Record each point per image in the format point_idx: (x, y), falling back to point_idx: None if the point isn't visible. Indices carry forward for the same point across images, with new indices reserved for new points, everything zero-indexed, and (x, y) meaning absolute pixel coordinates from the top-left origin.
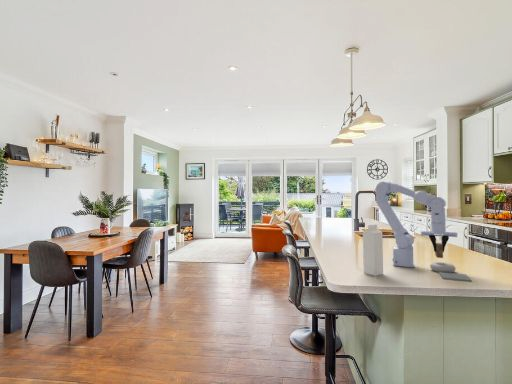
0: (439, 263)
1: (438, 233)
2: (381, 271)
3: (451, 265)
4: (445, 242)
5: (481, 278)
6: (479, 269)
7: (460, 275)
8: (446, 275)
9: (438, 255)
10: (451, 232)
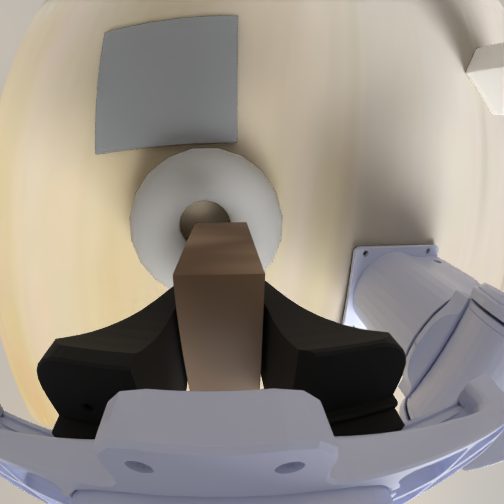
0: None
1: (271, 429)
2: (475, 65)
3: (147, 199)
4: (123, 327)
5: (49, 128)
6: (55, 329)
7: (128, 100)
8: (207, 64)
9: (233, 228)
10: (32, 492)
